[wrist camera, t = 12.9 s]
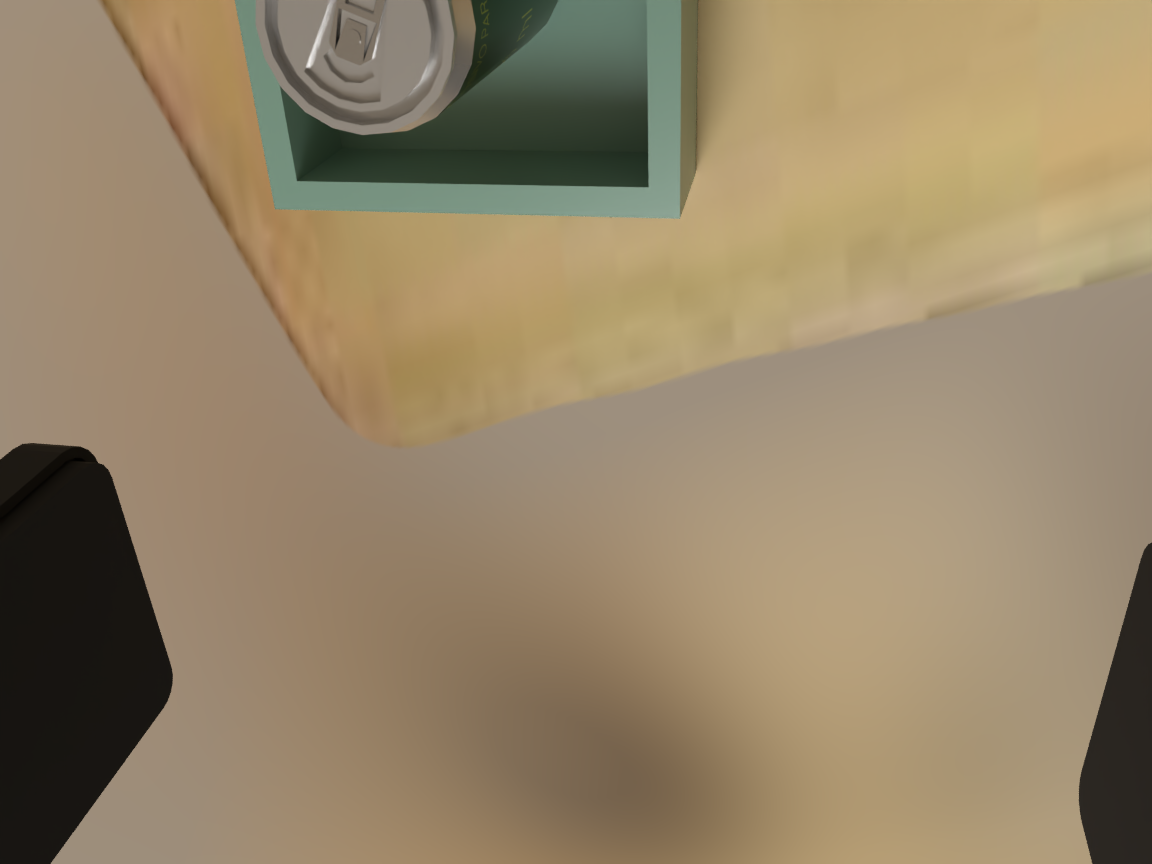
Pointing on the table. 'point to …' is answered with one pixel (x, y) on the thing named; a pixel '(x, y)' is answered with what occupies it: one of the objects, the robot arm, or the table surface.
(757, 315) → the table surface
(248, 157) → the table surface
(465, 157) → the open rectangular storage bin
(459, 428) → the table surface
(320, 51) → the beer can
